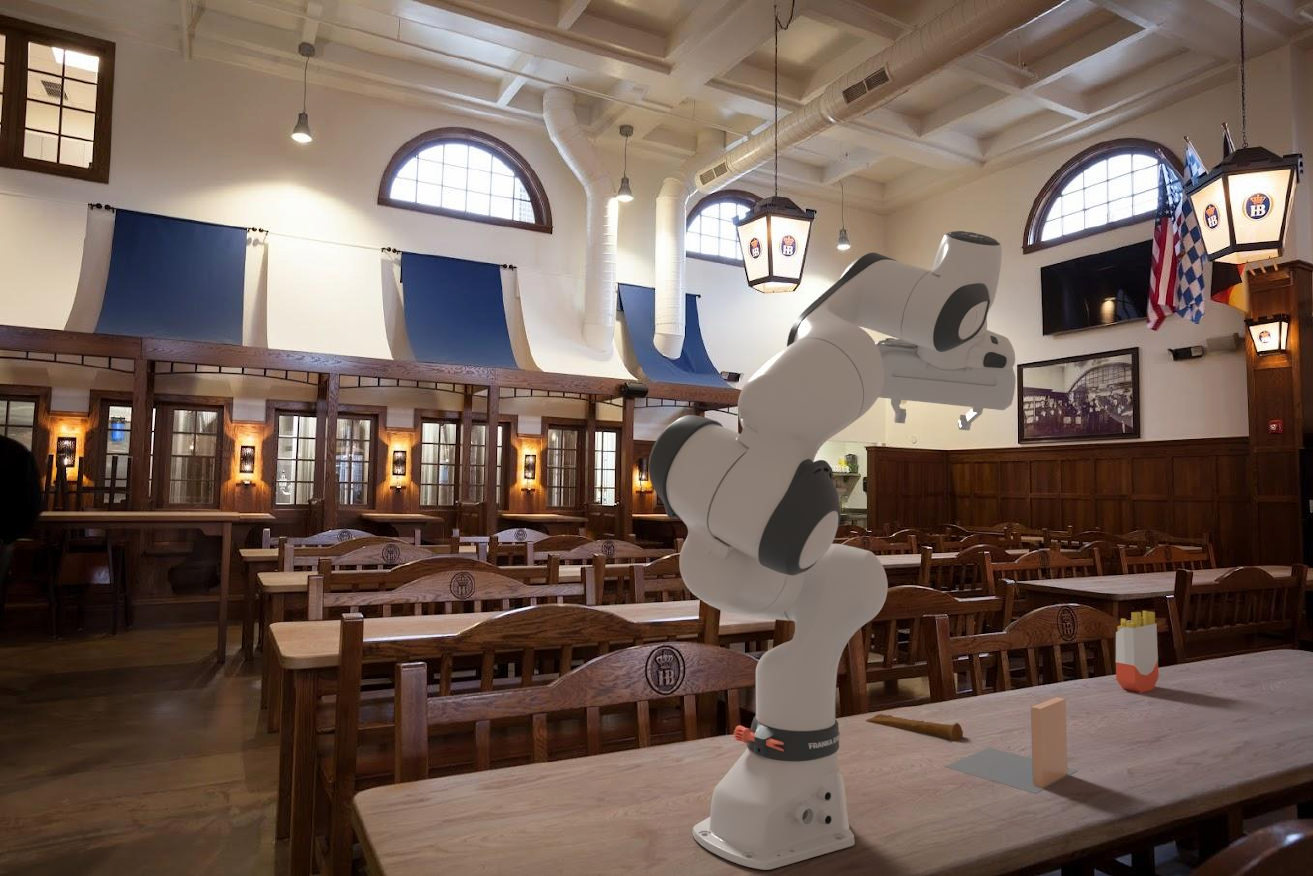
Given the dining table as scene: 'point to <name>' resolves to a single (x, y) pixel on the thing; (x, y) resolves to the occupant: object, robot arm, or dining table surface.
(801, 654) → the robot arm
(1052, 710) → the tile
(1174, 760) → the dining table surface
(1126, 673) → the french fries container
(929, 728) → the primitive tool
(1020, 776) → the mat
